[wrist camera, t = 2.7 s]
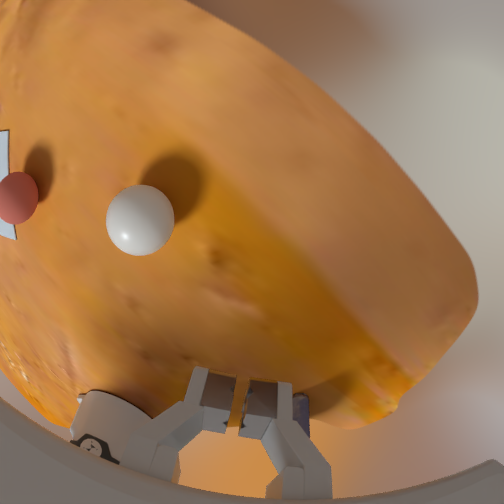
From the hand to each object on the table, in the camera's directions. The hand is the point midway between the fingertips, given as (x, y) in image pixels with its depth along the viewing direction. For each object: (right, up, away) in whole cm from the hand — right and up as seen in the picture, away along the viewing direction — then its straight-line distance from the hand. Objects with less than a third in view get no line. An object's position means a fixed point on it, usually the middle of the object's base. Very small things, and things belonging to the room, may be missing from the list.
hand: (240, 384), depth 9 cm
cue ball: (-8, +7, +11) cm, 16 cm away
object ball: (-24, +10, +11) cm, 28 cm away
